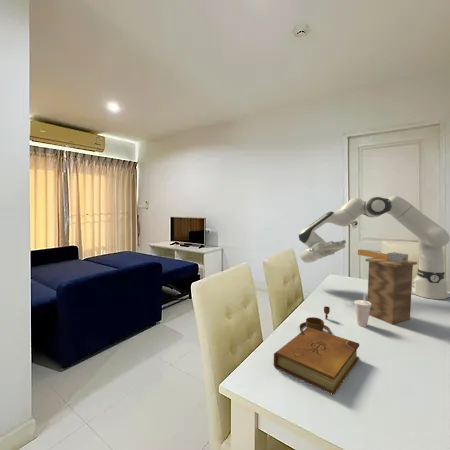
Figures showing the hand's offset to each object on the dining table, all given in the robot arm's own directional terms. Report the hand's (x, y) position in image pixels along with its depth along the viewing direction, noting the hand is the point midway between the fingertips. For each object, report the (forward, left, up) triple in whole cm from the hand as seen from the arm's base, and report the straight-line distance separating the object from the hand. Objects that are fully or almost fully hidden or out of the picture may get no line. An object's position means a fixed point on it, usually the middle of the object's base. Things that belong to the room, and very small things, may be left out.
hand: (338, 241), depth 143 cm
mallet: (+16, +18, -5) cm, 24 cm away
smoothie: (+32, +9, -31) cm, 45 cm away
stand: (+19, +21, -31) cm, 42 cm away
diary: (+67, -8, -32) cm, 75 cm away
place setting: (+42, -7, -32) cm, 53 cm away
